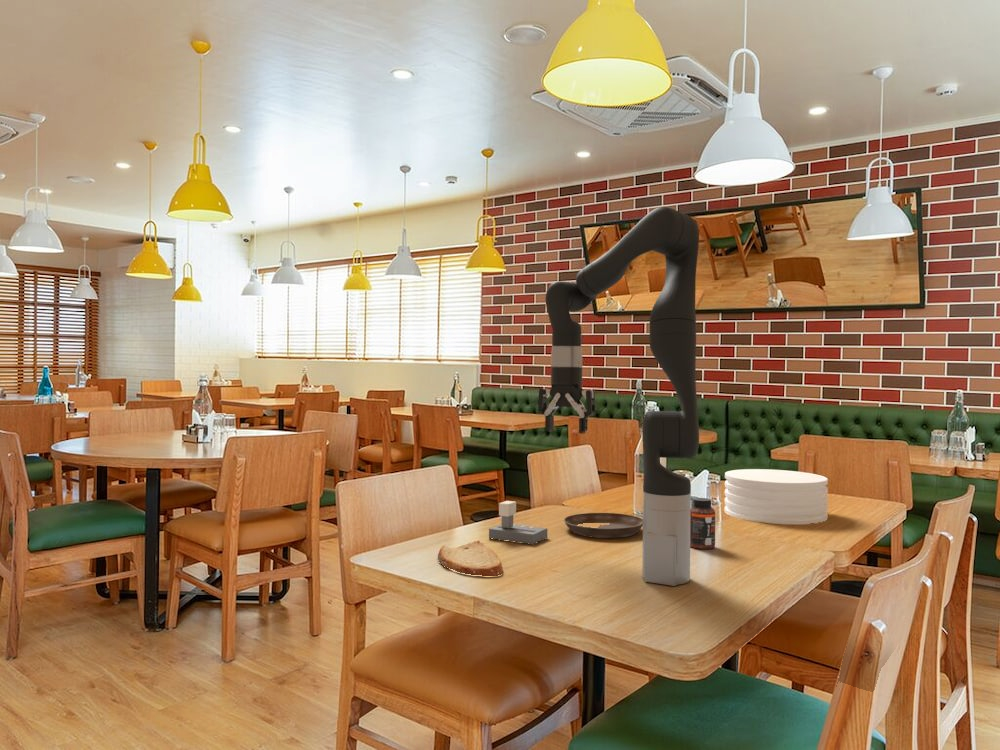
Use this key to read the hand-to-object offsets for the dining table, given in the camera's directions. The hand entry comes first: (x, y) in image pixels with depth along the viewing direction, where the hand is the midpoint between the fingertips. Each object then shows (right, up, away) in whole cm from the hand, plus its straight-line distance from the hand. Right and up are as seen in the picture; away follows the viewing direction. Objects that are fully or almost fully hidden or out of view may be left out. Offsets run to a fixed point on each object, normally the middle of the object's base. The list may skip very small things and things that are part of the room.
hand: (566, 432), depth 170 cm
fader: (-14, -24, +3) cm, 28 cm away
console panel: (-11, -26, +3) cm, 29 cm away
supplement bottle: (+32, -27, -4) cm, 42 cm away
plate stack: (+64, -27, +36) cm, 79 cm away
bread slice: (-22, -27, -20) cm, 40 cm away
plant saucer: (+11, -27, +12) cm, 32 cm away
